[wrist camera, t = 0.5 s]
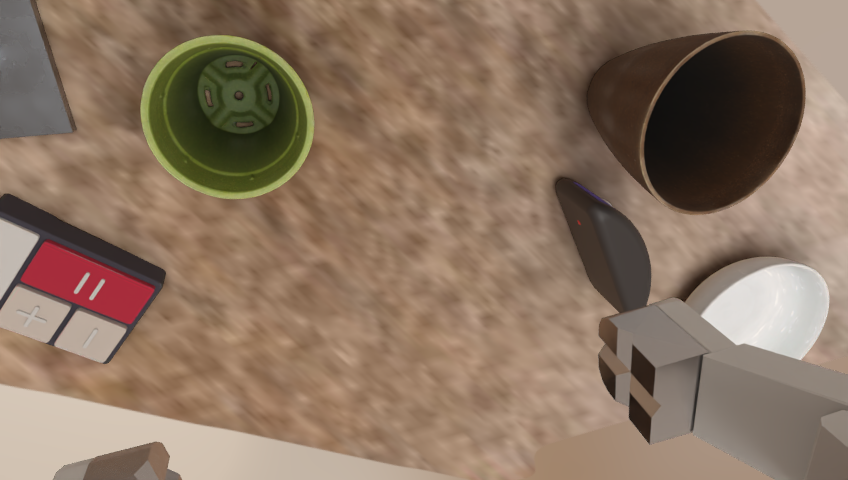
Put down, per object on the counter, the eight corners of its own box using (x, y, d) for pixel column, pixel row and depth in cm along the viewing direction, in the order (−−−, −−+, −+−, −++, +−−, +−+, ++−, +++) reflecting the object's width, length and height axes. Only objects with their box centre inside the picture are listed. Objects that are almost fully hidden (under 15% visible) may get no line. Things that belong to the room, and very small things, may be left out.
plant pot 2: (526, 129, 58) (606, 180, 44) (600, -12, 53) (716, -6, 39) (631, 178, 63) (731, 236, 49) (705, 54, 59) (839, 80, 45)
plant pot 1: (331, 113, 52) (344, 145, 42) (227, 179, 52) (215, 227, 43) (254, -6, 46) (248, 0, 37) (137, 69, 47) (99, 95, 37)
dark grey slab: (621, 268, 69) (668, 308, 61) (589, 286, 69) (632, 328, 61) (584, 160, 61) (632, 189, 53) (548, 180, 61) (590, 213, 53)
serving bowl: (632, 296, 71) (665, 327, 65) (772, 209, 70) (818, 232, 64) (674, 391, 81) (706, 425, 75) (797, 316, 81) (839, 344, 75)
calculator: (105, 370, 55) (-73, 308, 47) (114, 344, 58) (-50, 282, 51) (163, 289, 52) (-14, 210, 45) (169, 266, 56) (5, 190, 49)
